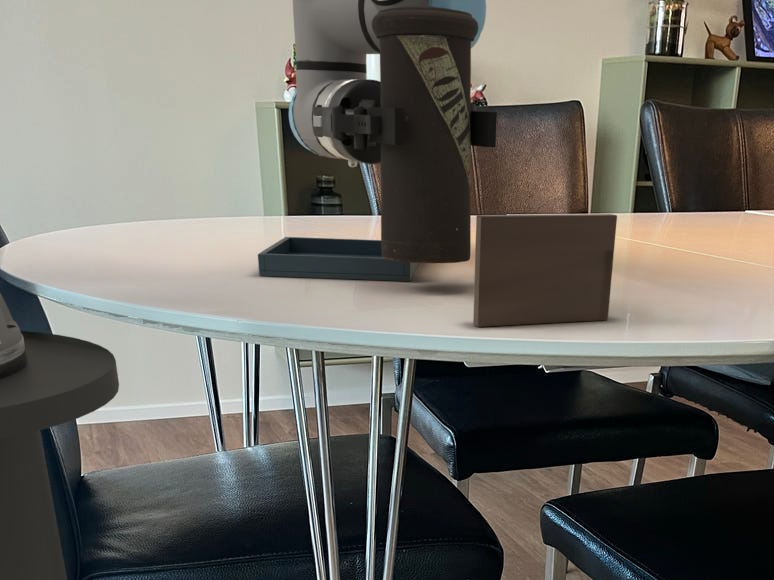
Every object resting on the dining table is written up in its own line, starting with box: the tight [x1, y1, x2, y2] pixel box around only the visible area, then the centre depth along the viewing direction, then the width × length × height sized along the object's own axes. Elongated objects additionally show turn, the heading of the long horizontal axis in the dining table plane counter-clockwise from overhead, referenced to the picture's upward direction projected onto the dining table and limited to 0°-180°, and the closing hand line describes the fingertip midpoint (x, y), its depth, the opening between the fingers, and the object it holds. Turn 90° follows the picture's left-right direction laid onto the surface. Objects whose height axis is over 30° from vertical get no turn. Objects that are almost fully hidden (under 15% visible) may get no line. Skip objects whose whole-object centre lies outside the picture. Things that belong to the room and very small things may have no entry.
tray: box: [257, 236, 419, 282], centre depth 103 cm, size 15×15×2 cm
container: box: [372, 5, 478, 264], centre depth 88 cm, size 9×9×20 cm
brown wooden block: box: [472, 213, 618, 328], centre depth 84 cm, size 15×12×8 cm
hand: (446, 128), depth 83 cm, fingers closed on container, 8 cm apart
